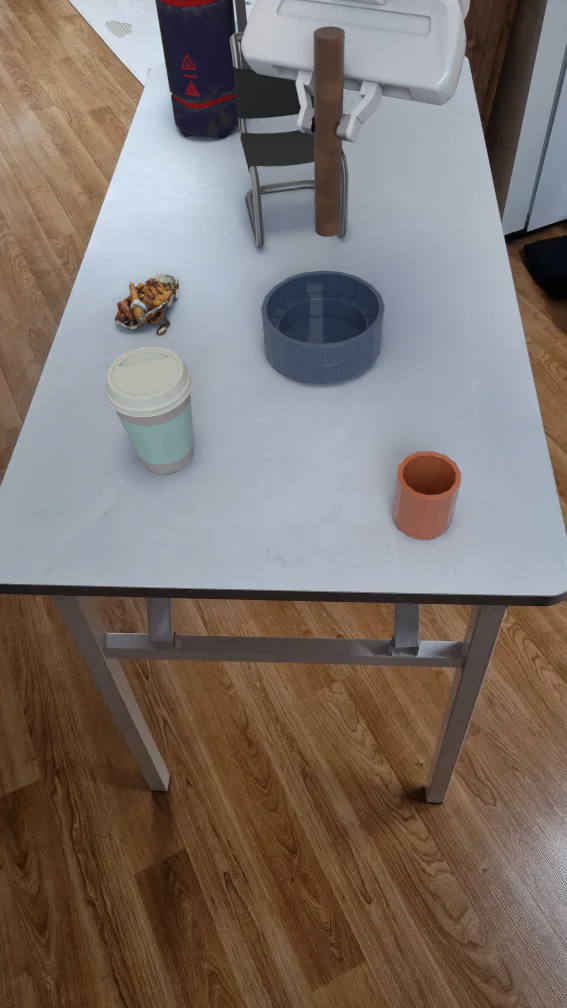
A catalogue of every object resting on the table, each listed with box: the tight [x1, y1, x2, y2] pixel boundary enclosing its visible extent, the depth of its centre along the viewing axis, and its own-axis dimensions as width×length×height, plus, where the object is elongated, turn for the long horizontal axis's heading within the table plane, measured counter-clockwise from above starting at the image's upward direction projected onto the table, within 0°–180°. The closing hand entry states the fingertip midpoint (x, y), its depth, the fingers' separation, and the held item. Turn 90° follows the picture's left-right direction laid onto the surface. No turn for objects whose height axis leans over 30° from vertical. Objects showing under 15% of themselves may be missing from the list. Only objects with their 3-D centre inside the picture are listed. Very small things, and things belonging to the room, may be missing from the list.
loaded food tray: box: [114, 272, 180, 336], centre depth 94 cm, size 7×12×4 cm, turn 173°
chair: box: [230, 31, 350, 248], centre depth 98 cm, size 13×17×22 cm
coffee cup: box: [104, 345, 194, 475], centre depth 74 cm, size 8×8×12 cm
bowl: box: [260, 269, 385, 384], centre depth 86 cm, size 14×14×6 cm
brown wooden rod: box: [313, 26, 345, 238], centre depth 67 cm, size 3×3×18 cm
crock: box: [392, 450, 462, 541], centre depth 70 cm, size 6×6×6 cm
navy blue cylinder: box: [154, 0, 252, 140], centre depth 114 cm, size 14×12×30 cm
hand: (325, 135), depth 66 cm, fingers closed on brown wooden rod, 2 cm apart
